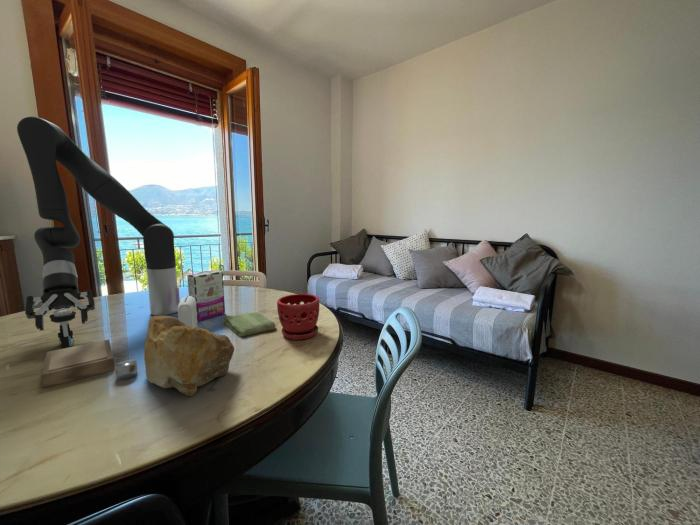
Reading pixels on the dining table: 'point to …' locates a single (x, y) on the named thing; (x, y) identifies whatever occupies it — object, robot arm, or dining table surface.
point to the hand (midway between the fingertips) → (63, 325)
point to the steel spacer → (126, 369)
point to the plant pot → (298, 315)
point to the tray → (77, 362)
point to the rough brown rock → (184, 355)
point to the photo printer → (188, 311)
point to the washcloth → (249, 323)
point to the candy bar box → (207, 293)
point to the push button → (64, 325)
